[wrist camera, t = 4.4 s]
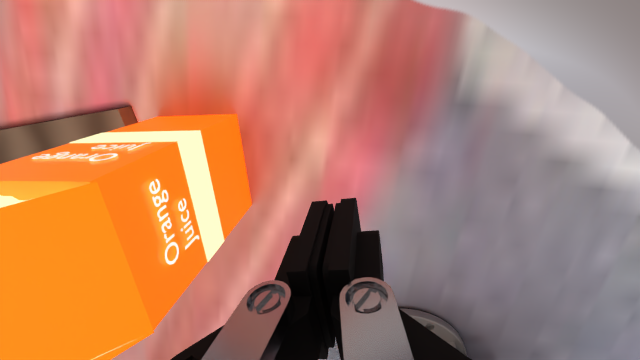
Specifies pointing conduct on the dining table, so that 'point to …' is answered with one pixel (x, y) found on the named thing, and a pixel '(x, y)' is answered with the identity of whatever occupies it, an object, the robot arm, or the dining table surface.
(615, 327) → the dining table surface
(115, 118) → the walnut board
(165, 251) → the orange juice
